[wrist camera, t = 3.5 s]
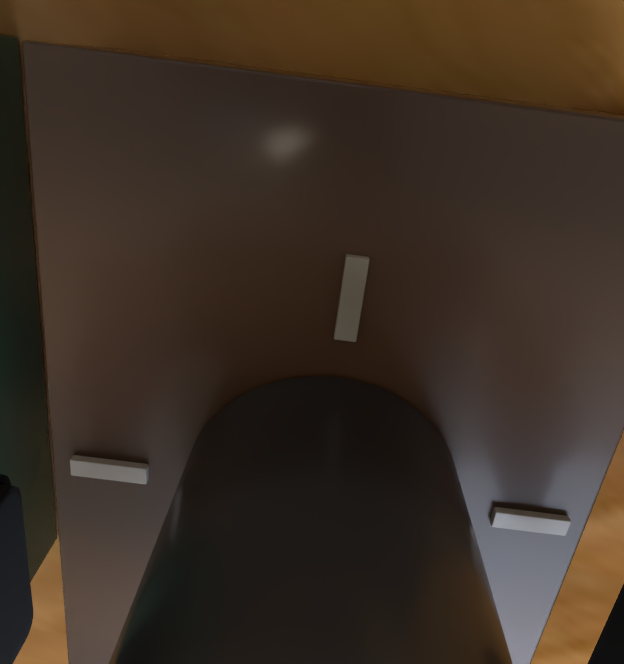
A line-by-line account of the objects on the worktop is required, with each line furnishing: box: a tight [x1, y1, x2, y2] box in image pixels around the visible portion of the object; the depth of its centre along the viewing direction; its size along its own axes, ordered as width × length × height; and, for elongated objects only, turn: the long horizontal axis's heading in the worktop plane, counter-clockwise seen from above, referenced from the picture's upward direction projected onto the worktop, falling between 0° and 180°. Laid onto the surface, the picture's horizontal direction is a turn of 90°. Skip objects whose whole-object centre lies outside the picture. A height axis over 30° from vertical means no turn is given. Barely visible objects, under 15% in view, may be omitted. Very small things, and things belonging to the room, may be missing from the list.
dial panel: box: [22, 41, 624, 664], centre depth 12 cm, size 14×10×3 cm
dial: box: [109, 376, 513, 664], centre depth 8 cm, size 5×5×6 cm
